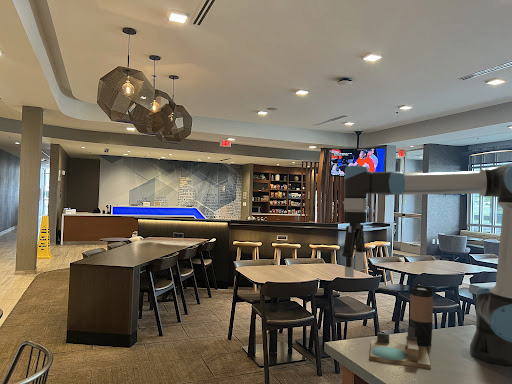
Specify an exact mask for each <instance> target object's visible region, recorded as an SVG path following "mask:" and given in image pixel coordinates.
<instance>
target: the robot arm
mask: <svg viewBox="0 0 512 384" xmlns="http://www.w3.org/2000/svg"><path fill="white" fill-rule="evenodd" d="M343 183H344V184H343V186H344V187H343V188H344V189H343V190H344V191H343V192H344V197H343V198H344V200H343V201H342V204H343V210H344V212H343V222H344V223H348V224H349V225H346V227H345V230H346V231H345V238H344V244H343V251H342V254H341V256H342V257H344V278H346V277H347V278H354V275H355V272H354V271H356V272H357V271H358V272H364V261H365V260H364V253H367V249H366V244H365V235H364V234H365V233H364V224H366V223H367V221H368V220H367V219H368V218H367V216H368V214H367V212H366V211H367V210H368V199H367V197H368V195H381V196H397V195H398V196H399V195H463V194H464V195H465V194H466V195H468V194H469V195H470V194H471V195H472V194H475V195H476V194H479V195H480V197H492V198H493V197H494V198H497V204H498V205H499V206H500V208H502V213H501V214H502V216H501V225H500V236H499V246H498V247H499V248H498V256H497V258H498V259H497V266H496V267H497V268H496V278H495V286H479V287H478V288H477V289H476V294H475V297H476V312H475V314H476V316H475V317H476V319H475V320H476V321H475V322H476V323H475V325H476V326H475V327H476V328H475V332H474V334H473V338H472V339H471V343H470V344H469V353H470V354H471V356H473V357H474V358H476V359H479V360H482V361H484V362H487V363H492V364H496V365H499V366H500V365H501V366H512V162H511V163H510V162H509V163H507V164H504V165H499V166H495V167H486V168H484V167H483V168H480V170H478V171H456V172H455V171H454V172H453V171H451V172H450V171H449V172H425V173H424V172H423V173H421V172H419V173H418V172H417V173H416V172H415V173H404V172H402V171H395V170H394V171H369V169H368V167H367V165H348V166H346V167H345V168H344V180H343ZM354 252H355V256H354Z"/></svg>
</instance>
